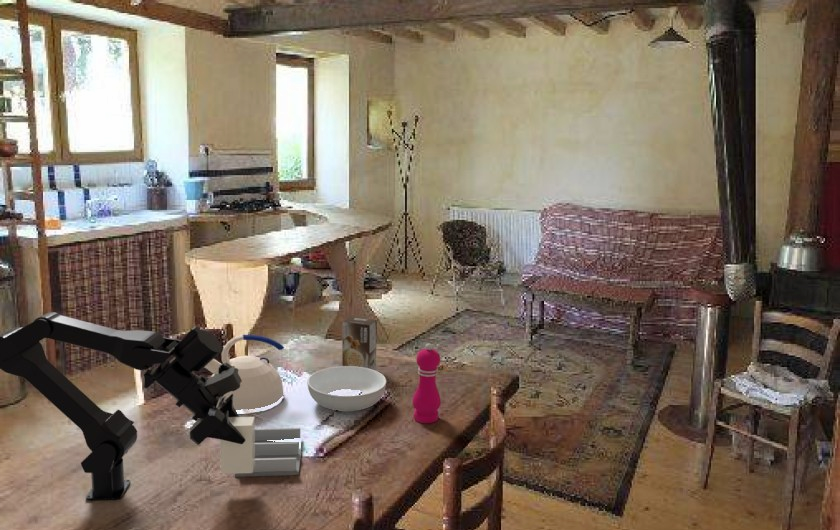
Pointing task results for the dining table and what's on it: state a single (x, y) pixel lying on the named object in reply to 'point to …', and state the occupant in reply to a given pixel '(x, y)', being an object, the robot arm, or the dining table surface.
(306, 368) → the dining table surface
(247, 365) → the kettle
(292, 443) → the plate rack
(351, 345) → the coffee box
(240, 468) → the cream upright block
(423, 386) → the pepper mill
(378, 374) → the serving bowl
